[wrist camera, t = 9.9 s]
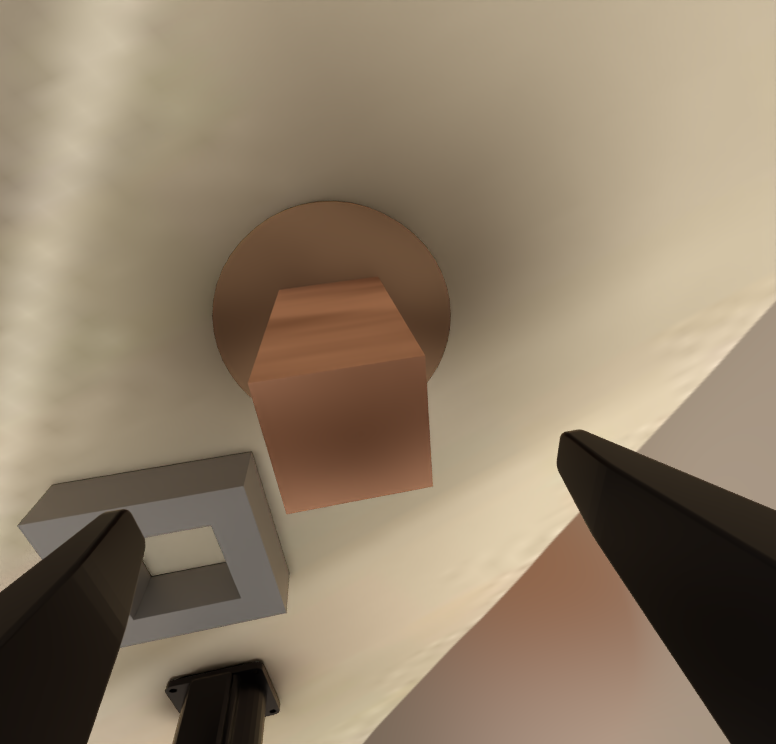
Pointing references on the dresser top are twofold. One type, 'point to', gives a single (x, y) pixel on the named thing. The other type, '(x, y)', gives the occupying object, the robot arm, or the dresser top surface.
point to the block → (341, 396)
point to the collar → (173, 514)
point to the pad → (326, 276)
